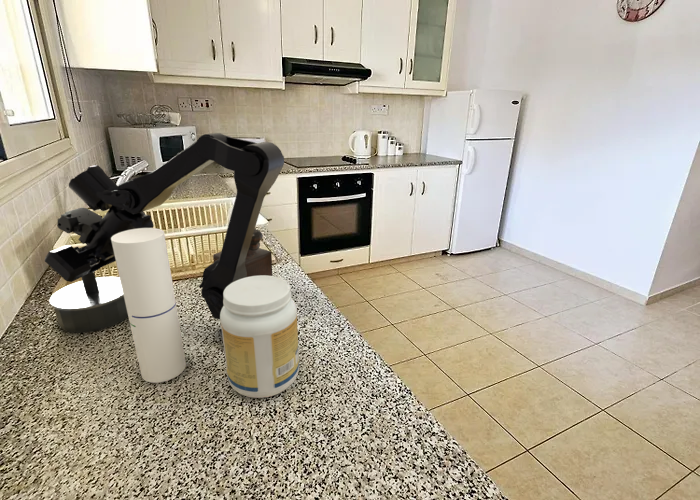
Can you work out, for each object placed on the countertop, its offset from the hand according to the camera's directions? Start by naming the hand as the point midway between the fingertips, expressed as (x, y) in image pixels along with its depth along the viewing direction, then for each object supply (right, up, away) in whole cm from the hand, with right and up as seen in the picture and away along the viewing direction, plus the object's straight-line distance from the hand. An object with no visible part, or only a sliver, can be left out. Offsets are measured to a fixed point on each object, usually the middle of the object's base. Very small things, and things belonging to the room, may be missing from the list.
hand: (82, 273), depth 78 cm
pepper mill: (+31, -5, +16) cm, 36 cm away
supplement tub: (+42, -17, -13) cm, 47 cm away
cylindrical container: (+24, -16, -12) cm, 31 cm away
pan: (+1, -9, +3) cm, 10 cm away
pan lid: (+1, -4, +1) cm, 5 cm away
